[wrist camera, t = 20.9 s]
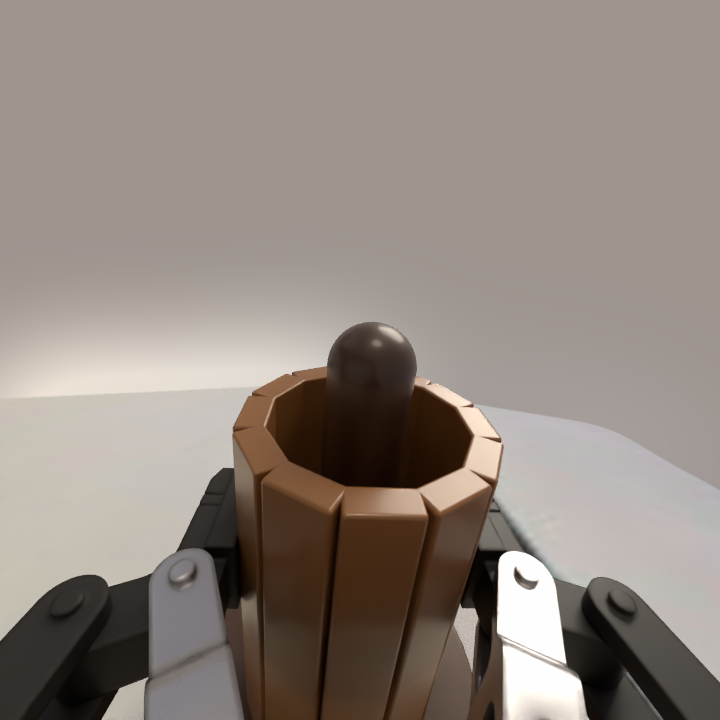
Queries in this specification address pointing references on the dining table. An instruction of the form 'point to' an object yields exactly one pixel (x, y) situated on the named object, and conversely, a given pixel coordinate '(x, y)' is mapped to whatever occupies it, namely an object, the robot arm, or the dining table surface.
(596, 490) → the dining table surface
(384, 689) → the wooden stave pot
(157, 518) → the dining table surface
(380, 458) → the peg stand
